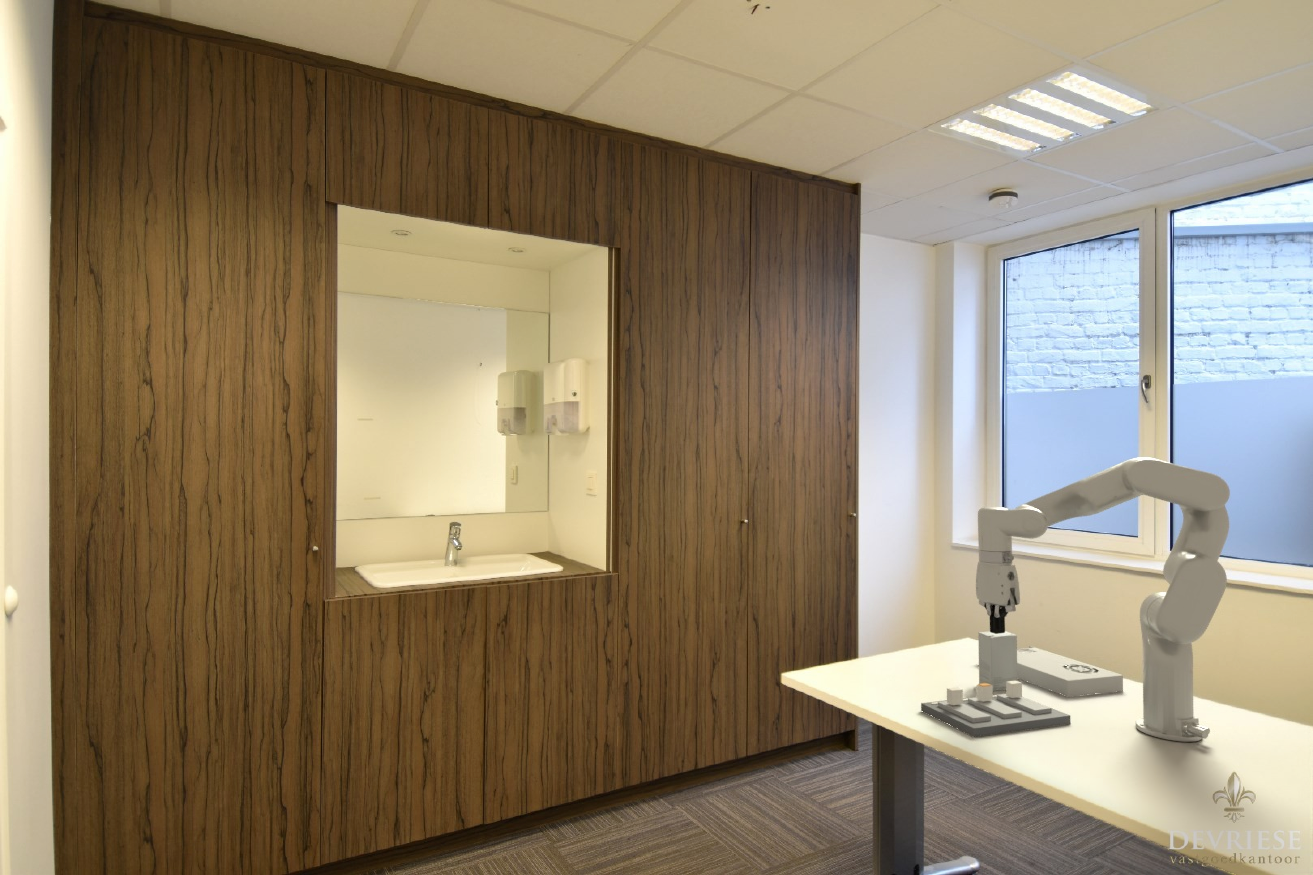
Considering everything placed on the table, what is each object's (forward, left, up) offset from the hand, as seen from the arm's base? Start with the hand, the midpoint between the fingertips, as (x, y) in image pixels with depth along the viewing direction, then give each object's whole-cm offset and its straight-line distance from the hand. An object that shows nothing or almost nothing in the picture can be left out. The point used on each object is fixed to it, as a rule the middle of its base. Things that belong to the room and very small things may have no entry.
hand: (997, 632), depth 183 cm
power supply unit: (+21, -37, -21) cm, 47 cm away
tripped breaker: (+1, +3, -16) cm, 17 cm away
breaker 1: (+1, +12, -16) cm, 20 cm away
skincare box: (+17, -16, -20) cm, 31 cm away
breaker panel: (-2, +3, -20) cm, 20 cm away
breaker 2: (+1, -6, -16) cm, 17 cm away
